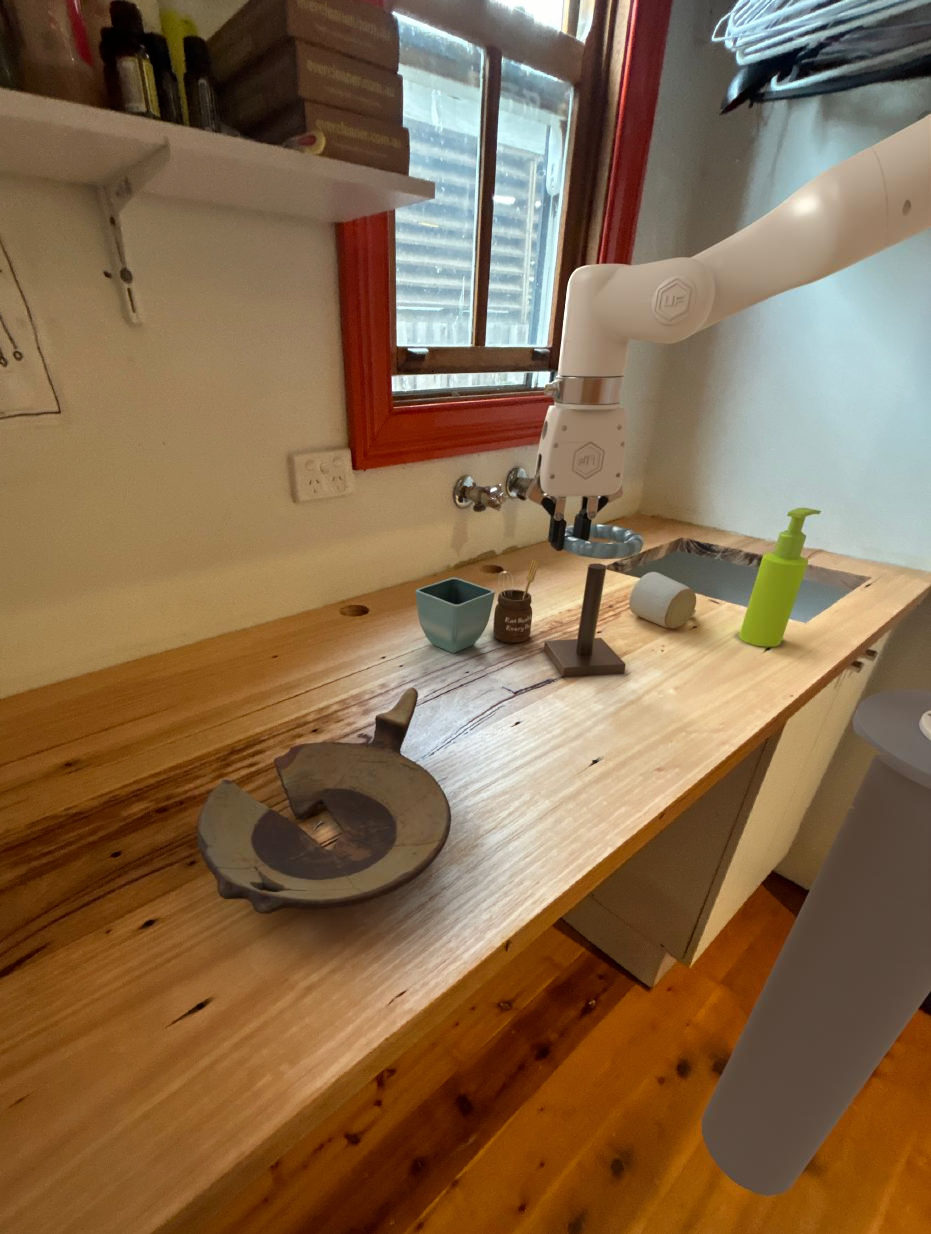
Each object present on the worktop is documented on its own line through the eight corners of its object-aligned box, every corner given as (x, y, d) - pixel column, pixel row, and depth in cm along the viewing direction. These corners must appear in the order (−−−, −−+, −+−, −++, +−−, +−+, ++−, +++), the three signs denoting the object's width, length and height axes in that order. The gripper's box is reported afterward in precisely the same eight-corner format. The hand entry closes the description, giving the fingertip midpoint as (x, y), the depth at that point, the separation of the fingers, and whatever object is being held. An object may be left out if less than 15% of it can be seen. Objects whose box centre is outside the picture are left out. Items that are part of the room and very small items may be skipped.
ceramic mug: (664, 635, 98) (675, 589, 94) (624, 618, 104) (633, 574, 100) (705, 622, 102) (718, 578, 98) (665, 606, 108) (675, 564, 105)
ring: (620, 535, 87) (623, 521, 86) (656, 559, 77) (659, 544, 76) (545, 537, 86) (547, 523, 85) (572, 562, 76) (575, 546, 75)
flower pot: (492, 645, 95) (497, 590, 91) (454, 662, 90) (456, 605, 86) (451, 628, 101) (453, 576, 96) (413, 644, 96) (413, 590, 91)
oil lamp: (155, 849, 57) (136, 785, 53) (389, 727, 75) (387, 672, 71) (292, 1010, 44) (280, 940, 40) (539, 814, 61) (547, 752, 57)
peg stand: (599, 646, 95) (615, 554, 87) (624, 673, 87) (643, 575, 79) (543, 649, 94) (554, 557, 86) (563, 677, 86) (577, 578, 79)
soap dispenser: (792, 639, 96) (837, 510, 86) (766, 650, 93) (810, 517, 83) (756, 627, 100) (795, 502, 90) (731, 636, 97) (768, 509, 87)
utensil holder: (485, 632, 99) (490, 560, 93) (518, 625, 101) (525, 555, 95) (504, 646, 95) (511, 572, 89) (538, 639, 97) (547, 566, 91)
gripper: (531, 397, 68) (516, 558, 77) (668, 395, 69) (636, 554, 79) (513, 392, 74) (501, 542, 84) (639, 390, 76) (613, 537, 85)
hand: (567, 546), depth 81 cm, fingers closed on ring, 2 cm apart
